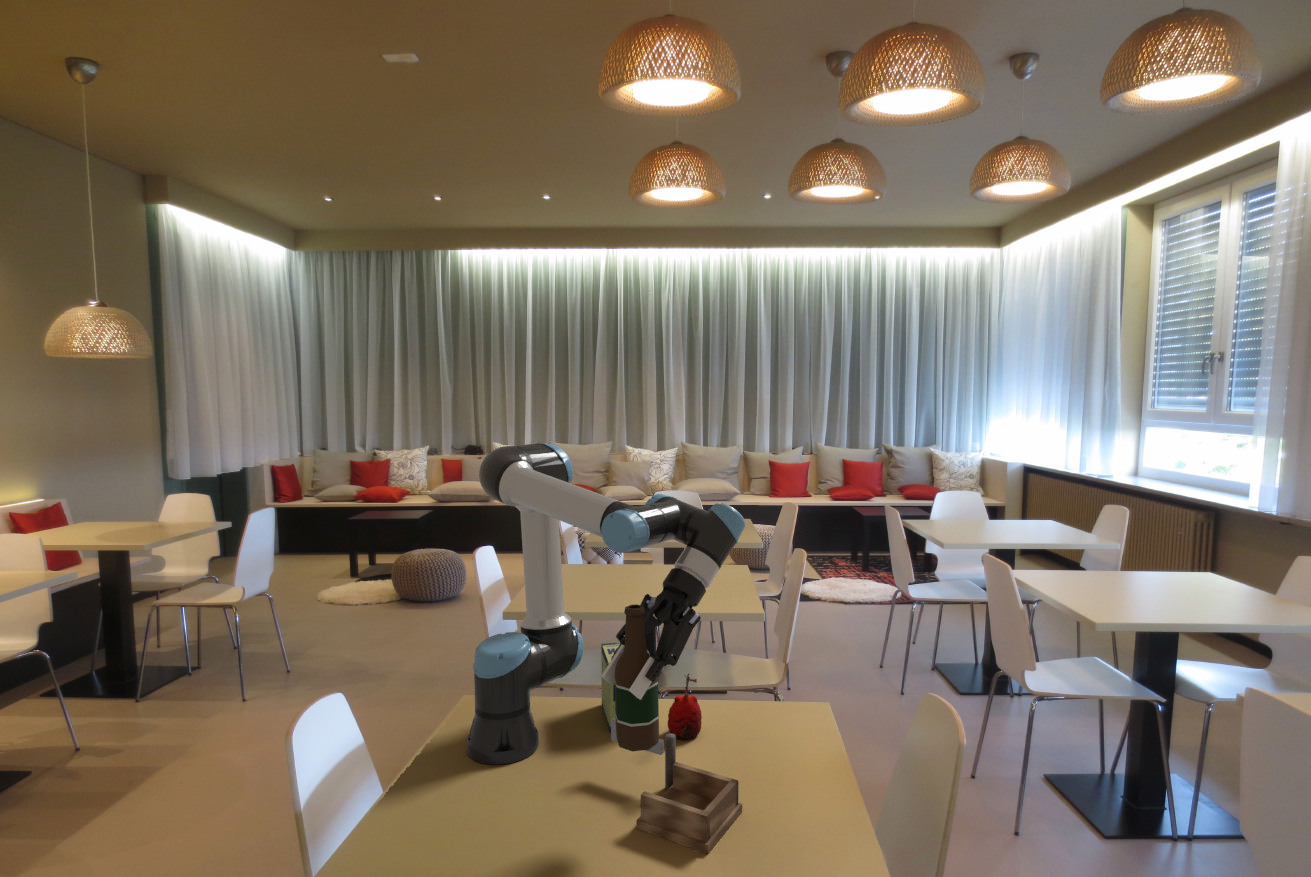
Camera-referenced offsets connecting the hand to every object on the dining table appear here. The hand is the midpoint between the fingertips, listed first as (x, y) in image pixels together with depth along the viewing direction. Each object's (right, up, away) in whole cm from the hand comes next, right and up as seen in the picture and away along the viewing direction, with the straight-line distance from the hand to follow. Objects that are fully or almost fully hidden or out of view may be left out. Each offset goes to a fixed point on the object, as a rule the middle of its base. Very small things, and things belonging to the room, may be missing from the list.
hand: (620, 687), depth 123 cm
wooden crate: (+12, -25, +6) cm, 29 cm away
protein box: (-1, -23, +47) cm, 52 cm away
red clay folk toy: (+13, -24, +38) cm, 46 cm away
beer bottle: (+3, -11, +3) cm, 11 cm away
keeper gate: (+2, -18, +19) cm, 26 cm away
